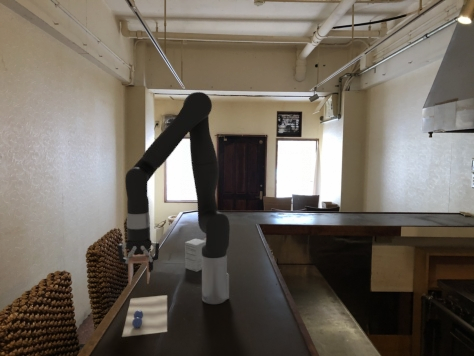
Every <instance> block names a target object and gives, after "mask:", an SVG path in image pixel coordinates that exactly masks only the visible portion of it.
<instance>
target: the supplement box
mask: <svg viewBox="0 0 474 356" xmlns="http://www.w3.org/2000/svg"><path fill="white" fill-rule="evenodd" d="M204 245H206V241H204V239H199V238H193V239H191V240H188V241H185V242H184V255H185V257H184V261H185V262H184V263H185V265H184V266H185V269H187V270H190V271H194V272H199V271H202V247H203V246H204Z"/></svg>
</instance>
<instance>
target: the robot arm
mask: <svg viewBox="0 0 474 356" xmlns="http://www.w3.org/2000/svg"><path fill="white" fill-rule="evenodd" d="M212 104H213V103H212V99H211V98H210V96H209V95H208V94H206V92H202V91H194V92H192V93H190V94H188V95H187V97H185V98H184V101H183V105H182V107H181V109H180V110H179V112H178V113H177V115H176V117H174V119H173V120H172V122H171V123H170V124H169V125H168V126H167V127H166V128H165V129H164V130H163V131H162V132H161V133H160V134H159V135H158V137H156V138H155V140H153V142H152V143H151V144H150V145H149V146H148V148H147V149H146V150H145V152H144V153H143V155H142V157H141V158H140V159H139V160H138V161H137V162H136V163H135V165H133V167H132V168H130V169H129V170H128V171H127V172H126V174H125V178H124V179H125V180H124V181H125V193H126V198H127V201H126V203H127V205H126V206H127V210H126V211H127V216H126V237H127V241H126V243H121V242H120V243H118V246H117V253H118V258H119V262H120V263H124V264H125V272H126V273H128V261H129V258H132V256H133V254H134V255H138V254H140V255H144V254H145V255H146V257H149V272H150V273H152V271H153V270H154V261H158V260H159V251H160V241H159V240H158V241H152V240H151V217H150V205H149V204H150V201H149V196H148V182H149V180H150V179H151V178H153V175H154V174H155V173H156V171H157V170H158V169H159V168H160V167H161V166H162V165H163V164H164V163H165V162H166V161H167V159H169V157H170V156H171V155H172V153H174V151H175V149H177V147H178V146H179V145H180V143H181V142H182V141H183V140H184V138H185V137H186V136H187V135H189V148H190V150H189V151H190V152H189V153H190V162H191V170H192V176H193V181H194V188H195V193H196V202H197V203H196V204H197V223H198V226H199V229H200V230H201V231H202V232H203V233H204V234H205V238H206V245H204V246H203V247H202V269H201V300H202V302H204V303H205V304H209V305H219V304H223V303H224V302H226V301H227V300H228V299H230V274H229V273H228V269H227V268H228V257H227V255H228V248H229V245H230V230H231V229H230V226H231V225H230V220H229V217H228V216H227V215H226V214H224V213H222V212H220V211H219V210H218V204H217V200H216V194H217V193H216V192H217V187H218V182H219V177H220V176H219V175H220V173H219V172H220V171H219V163H218V156H217V152H216V149H215V145H214V143H213V140H212V137H211V132H210V124H209V123H210V122H209V121H210V120H209V118H210V117H209V115H210V114H211V112H212V108H213V107H212V106H213V105H212ZM151 247H152V248H153V249H155V251H154V255H152V253H151V251H150V248H151ZM125 249H128V250H129V252H128V254H127V257H125V254H124V251H125Z"/></svg>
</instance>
